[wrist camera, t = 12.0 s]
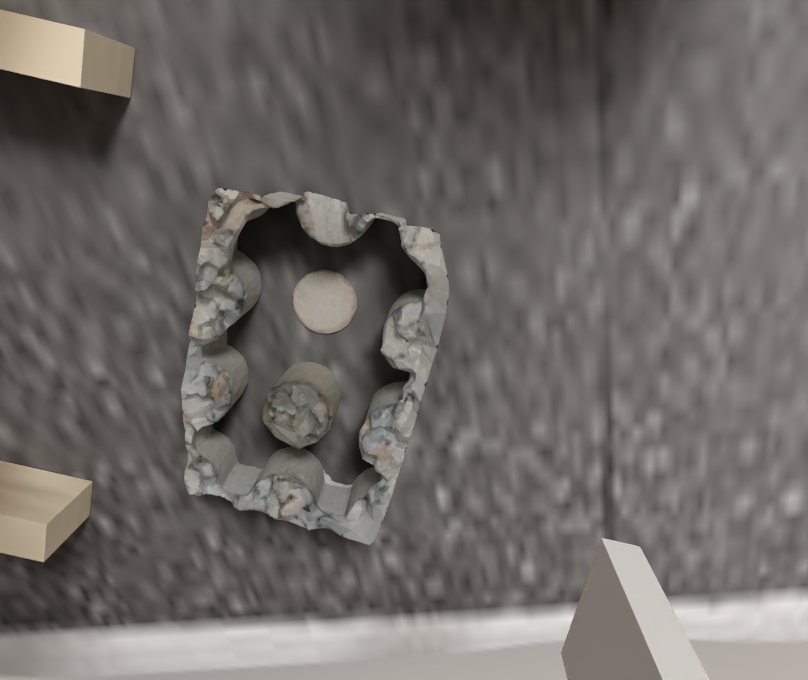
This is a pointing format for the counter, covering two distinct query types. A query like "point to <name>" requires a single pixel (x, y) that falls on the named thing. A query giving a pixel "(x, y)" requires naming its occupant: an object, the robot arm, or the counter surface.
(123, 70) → the channel
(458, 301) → the counter surface
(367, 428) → the egg carton
